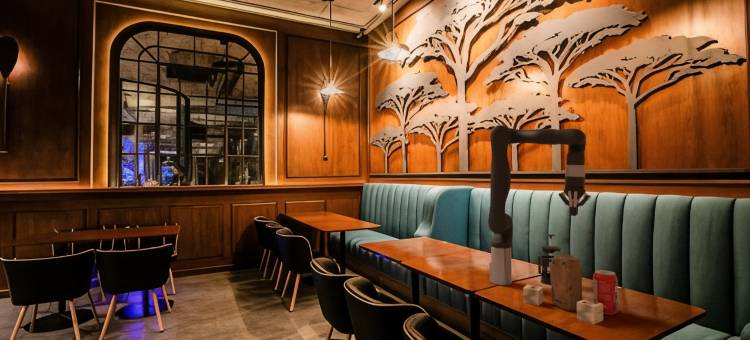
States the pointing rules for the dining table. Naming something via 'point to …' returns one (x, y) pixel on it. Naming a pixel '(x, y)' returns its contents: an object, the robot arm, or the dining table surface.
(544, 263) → the french press
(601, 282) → the soda can
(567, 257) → the block
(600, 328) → the dining table surface
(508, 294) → the dining table surface
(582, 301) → the dotted cube two
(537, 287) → the dotted cube one
